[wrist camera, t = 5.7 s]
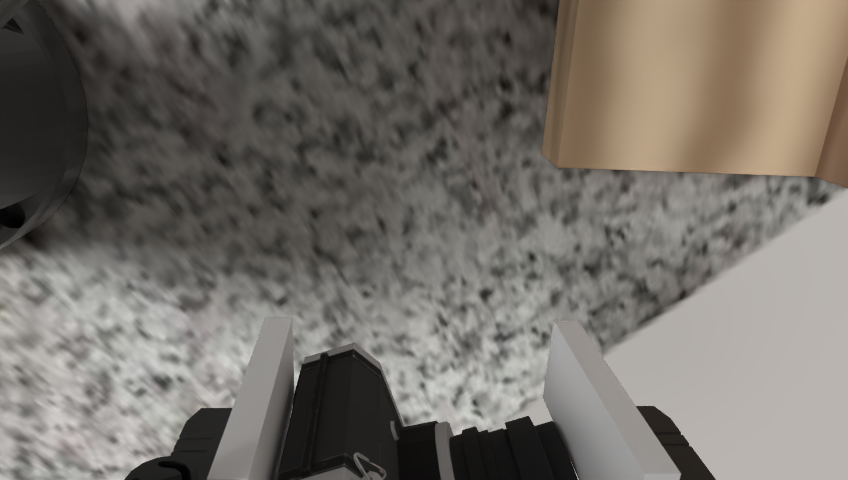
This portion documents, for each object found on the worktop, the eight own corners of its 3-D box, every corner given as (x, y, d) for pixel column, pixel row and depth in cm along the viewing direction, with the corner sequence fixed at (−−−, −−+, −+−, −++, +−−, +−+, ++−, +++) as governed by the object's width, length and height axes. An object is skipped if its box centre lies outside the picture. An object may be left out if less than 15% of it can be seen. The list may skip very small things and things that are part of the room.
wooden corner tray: (541, 154, 32) (577, 183, 26) (581, -184, 27) (636, -239, 21) (794, 163, 33) (880, 193, 27) (878, -158, 28) (1006, -203, 22)
